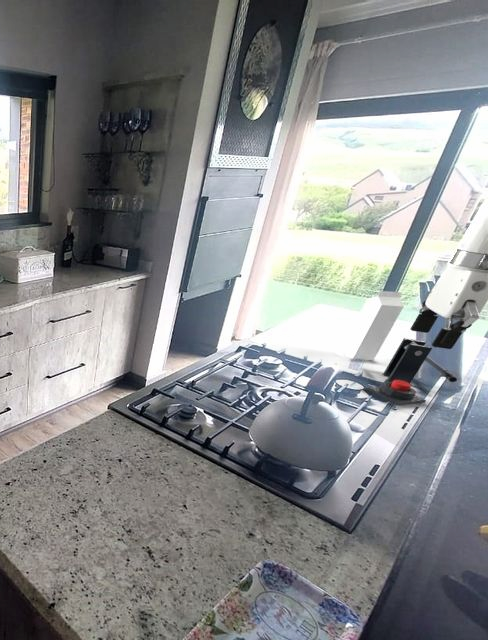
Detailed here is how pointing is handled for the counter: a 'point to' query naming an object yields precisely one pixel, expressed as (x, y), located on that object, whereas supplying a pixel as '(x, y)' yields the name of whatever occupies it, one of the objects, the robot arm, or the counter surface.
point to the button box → (396, 394)
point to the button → (401, 385)
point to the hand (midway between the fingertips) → (429, 339)
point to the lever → (439, 368)
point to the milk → (373, 325)
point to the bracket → (407, 360)
